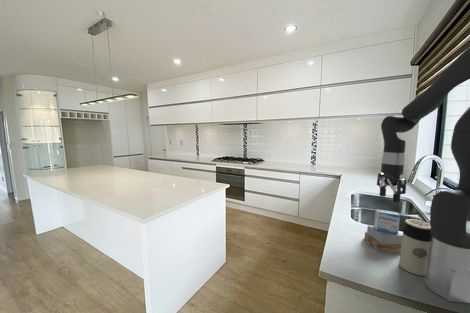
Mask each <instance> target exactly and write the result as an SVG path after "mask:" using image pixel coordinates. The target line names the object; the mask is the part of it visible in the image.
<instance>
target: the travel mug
mask: <svg viewBox="0 0 470 313" xmlns="http://www.w3.org/2000/svg"><path fill="white" fill-rule="evenodd" d="M404 222H405V226H404V227H403V229H402V235H403V236H402V244H401V251H400V253H399V260H398V264H399V266H400V267H401V268H402V269H404V270H405V271H407V272H409V273H411V274H413V275H416V276H417V275H418V276H426V270H427V263H428V256H429V250H430V243H431V237H432V229H431V226H430V222H429V223H428V222H425V221H423V220H419V219H414V218H409V219H405V220H404Z"/></svg>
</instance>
